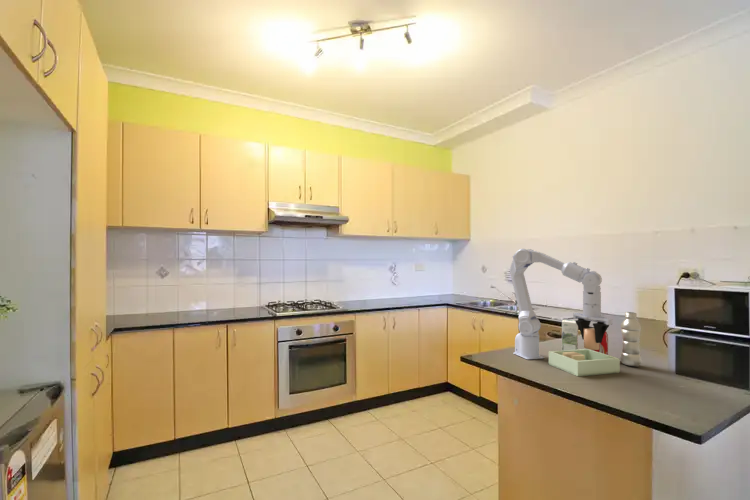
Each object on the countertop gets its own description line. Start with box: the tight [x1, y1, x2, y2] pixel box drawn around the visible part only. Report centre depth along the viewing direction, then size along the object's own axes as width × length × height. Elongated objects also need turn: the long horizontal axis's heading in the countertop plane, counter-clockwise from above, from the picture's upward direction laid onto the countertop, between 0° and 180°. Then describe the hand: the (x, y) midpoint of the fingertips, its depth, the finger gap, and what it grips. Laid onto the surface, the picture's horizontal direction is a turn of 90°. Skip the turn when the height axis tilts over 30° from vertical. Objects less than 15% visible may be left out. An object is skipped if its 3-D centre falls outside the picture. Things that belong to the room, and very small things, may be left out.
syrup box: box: [561, 319, 579, 351], centre depth 152 cm, size 6×6×14 cm
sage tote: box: [548, 348, 621, 377], centre depth 134 cm, size 14×18×5 cm
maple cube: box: [563, 352, 585, 361], centre depth 133 cm, size 5×5×5 cm
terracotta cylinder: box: [583, 327, 600, 350], centre depth 135 cm, size 5×5×7 cm
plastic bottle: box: [619, 311, 642, 367], centre depth 139 cm, size 6×7×20 cm
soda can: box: [590, 330, 609, 355], centre depth 147 cm, size 7×7×12 cm
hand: (591, 340), depth 135 cm, fingers closed on terracotta cylinder, 5 cm apart
